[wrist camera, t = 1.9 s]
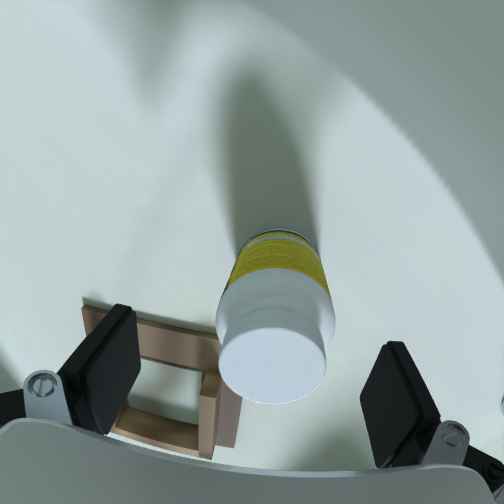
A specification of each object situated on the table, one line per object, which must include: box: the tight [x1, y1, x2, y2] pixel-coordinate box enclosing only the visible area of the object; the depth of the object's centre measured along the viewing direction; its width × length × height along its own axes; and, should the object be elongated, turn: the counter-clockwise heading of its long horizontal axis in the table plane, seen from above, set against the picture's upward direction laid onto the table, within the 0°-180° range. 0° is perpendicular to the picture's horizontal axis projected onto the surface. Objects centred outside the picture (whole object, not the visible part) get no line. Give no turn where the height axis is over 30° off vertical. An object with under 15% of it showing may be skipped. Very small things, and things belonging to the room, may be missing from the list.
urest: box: [81, 305, 242, 460], centre depth 23 cm, size 14×14×4 cm
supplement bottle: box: [216, 228, 335, 404], centre depth 15 cm, size 5×5×10 cm
